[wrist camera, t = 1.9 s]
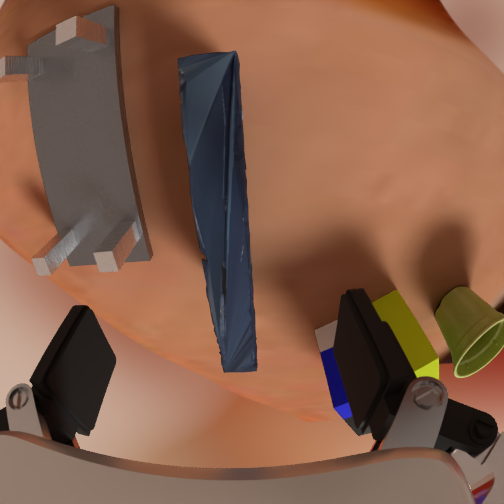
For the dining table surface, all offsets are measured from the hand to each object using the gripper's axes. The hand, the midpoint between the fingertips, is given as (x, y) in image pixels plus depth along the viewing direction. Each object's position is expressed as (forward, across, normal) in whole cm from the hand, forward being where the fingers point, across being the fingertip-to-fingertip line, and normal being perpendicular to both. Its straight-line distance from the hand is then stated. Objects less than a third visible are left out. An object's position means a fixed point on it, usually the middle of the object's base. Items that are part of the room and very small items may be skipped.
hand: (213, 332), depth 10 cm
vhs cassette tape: (+14, 0, -1) cm, 14 cm away
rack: (+14, +12, -7) cm, 20 cm away
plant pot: (+14, -27, +14) cm, 34 cm away
